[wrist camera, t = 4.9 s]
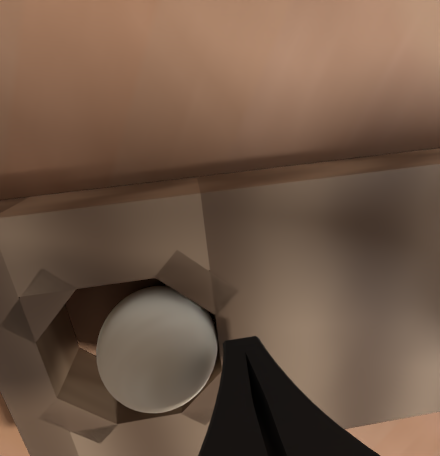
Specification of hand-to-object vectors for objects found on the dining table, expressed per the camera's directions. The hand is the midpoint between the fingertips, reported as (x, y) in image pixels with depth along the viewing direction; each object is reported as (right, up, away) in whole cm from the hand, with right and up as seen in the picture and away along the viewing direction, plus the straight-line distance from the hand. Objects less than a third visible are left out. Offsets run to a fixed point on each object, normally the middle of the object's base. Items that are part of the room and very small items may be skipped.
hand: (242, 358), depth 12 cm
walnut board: (+1, +2, +4) cm, 4 cm away
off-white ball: (-4, 0, +1) cm, 4 cm away
